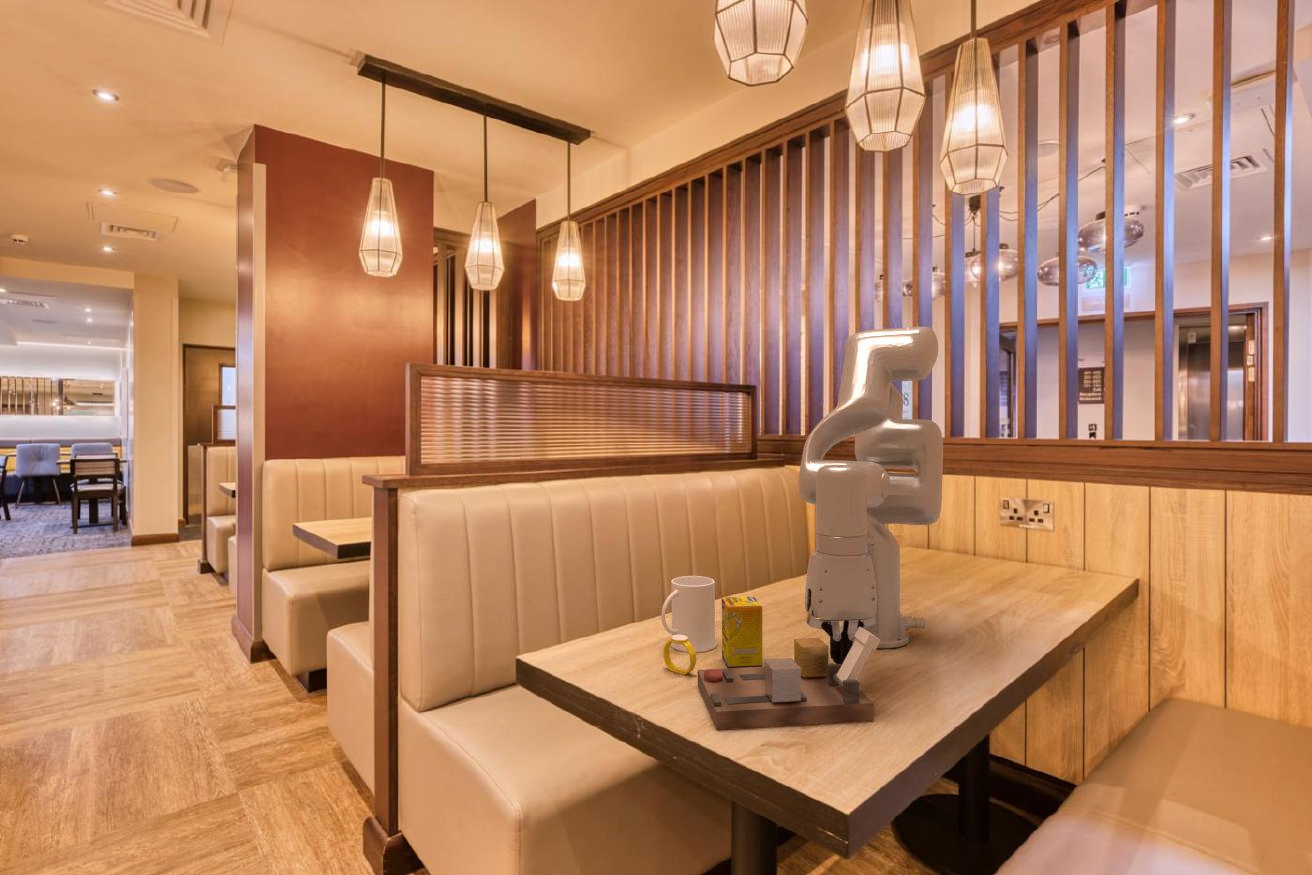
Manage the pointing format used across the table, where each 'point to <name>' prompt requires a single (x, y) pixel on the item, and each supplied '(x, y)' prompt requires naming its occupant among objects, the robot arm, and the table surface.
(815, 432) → the robot arm
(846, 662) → the pale pink t-block
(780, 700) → the grey knob
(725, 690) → the console
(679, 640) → the watch
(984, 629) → the table surface
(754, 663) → the supplement box
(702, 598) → the mug
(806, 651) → the brass knob
